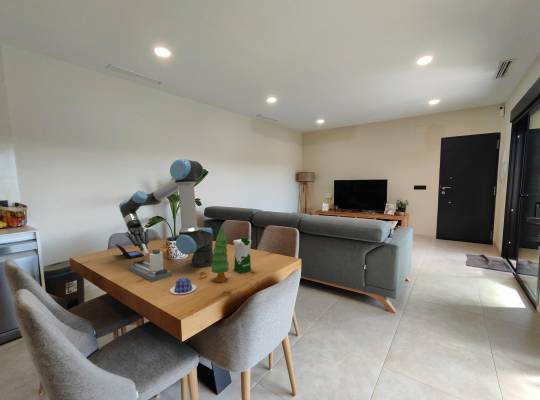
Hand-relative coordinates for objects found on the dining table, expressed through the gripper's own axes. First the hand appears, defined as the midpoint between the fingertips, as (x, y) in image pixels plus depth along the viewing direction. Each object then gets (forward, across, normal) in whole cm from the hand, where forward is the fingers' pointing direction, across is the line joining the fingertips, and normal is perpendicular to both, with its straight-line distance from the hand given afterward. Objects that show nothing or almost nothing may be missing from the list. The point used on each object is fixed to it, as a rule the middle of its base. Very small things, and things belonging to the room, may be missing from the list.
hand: (146, 254), depth 142 cm
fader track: (+10, 0, -5) cm, 11 cm away
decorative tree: (+37, -18, +23) cm, 47 cm away
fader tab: (+13, 0, +3) cm, 14 cm away
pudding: (+35, +1, +20) cm, 40 cm away
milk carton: (+37, -36, +22) cm, 56 cm away
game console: (-21, -8, -37) cm, 43 cm away
